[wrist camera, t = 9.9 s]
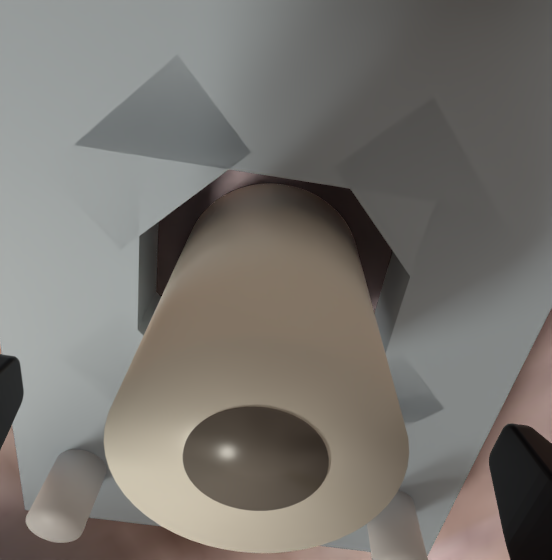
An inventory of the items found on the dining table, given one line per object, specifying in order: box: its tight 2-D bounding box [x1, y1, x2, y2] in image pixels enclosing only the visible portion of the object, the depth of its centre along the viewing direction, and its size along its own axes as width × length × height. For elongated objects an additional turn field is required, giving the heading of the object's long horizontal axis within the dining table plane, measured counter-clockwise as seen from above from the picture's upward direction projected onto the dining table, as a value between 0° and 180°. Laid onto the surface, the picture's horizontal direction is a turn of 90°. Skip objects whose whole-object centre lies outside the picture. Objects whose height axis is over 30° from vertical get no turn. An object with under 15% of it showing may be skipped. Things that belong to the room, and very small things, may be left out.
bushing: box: [104, 183, 409, 553], centre depth 11 cm, size 5×5×7 cm
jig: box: [0, 0, 552, 560], centre depth 12 cm, size 19×14×4 cm
